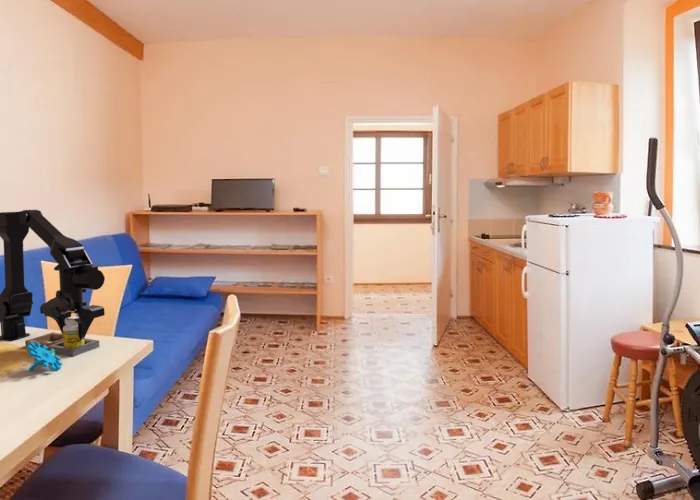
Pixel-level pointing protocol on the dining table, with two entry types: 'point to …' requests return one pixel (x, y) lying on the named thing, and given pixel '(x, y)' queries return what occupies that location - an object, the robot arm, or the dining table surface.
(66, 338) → the supplement bottle
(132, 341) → the dining table surface
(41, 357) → the gear
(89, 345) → the socket
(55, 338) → the brown square frame
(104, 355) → the dining table surface
